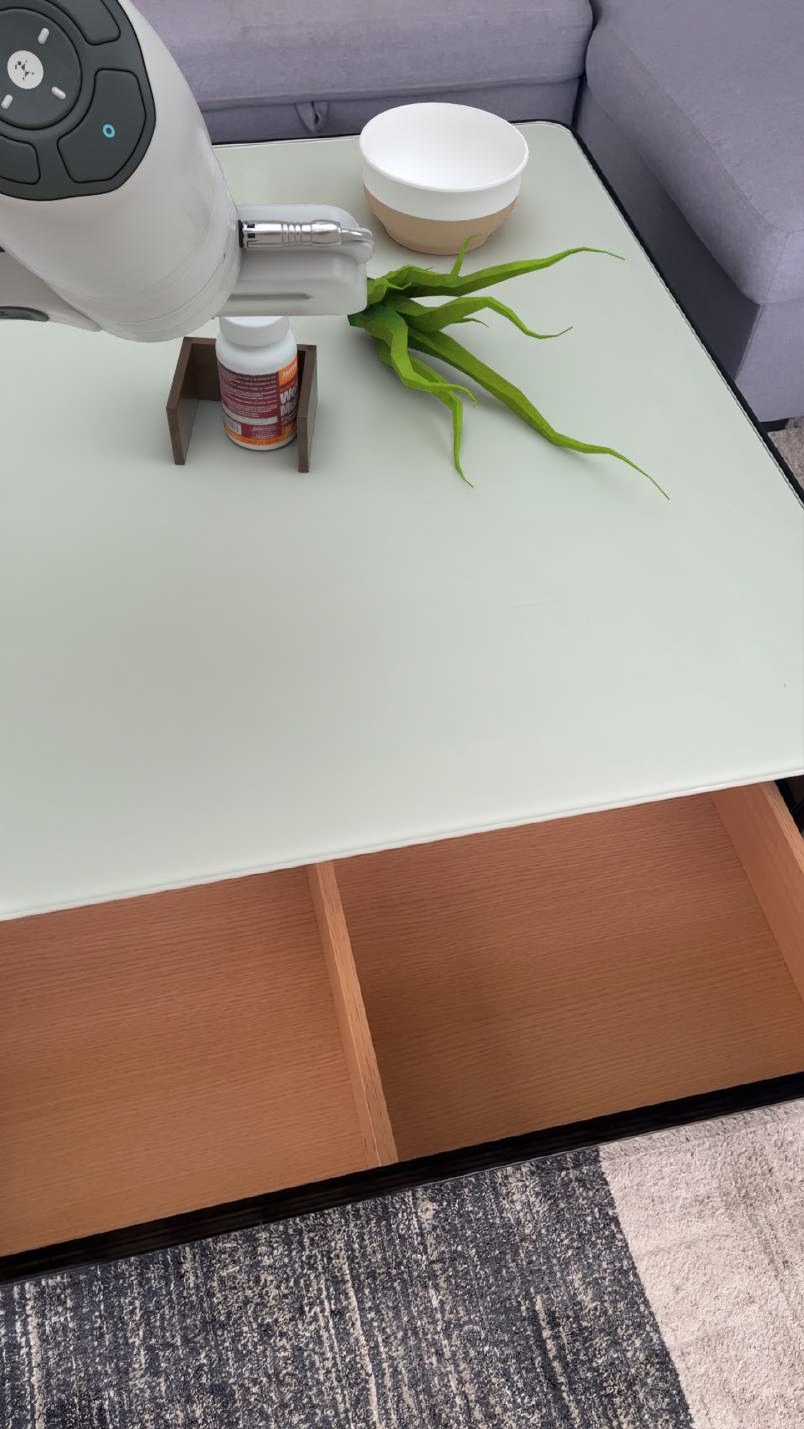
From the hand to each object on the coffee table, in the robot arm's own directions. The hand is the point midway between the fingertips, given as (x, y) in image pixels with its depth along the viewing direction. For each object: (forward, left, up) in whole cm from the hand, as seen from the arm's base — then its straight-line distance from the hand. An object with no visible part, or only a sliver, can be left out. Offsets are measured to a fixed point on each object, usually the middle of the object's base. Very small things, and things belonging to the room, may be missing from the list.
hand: (189, 305), depth 60 cm
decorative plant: (+20, +19, -22) cm, 36 cm away
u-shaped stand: (0, +15, -22) cm, 27 cm away
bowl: (+15, +47, -22) cm, 54 cm away
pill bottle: (+1, +15, -22) cm, 27 cm away
